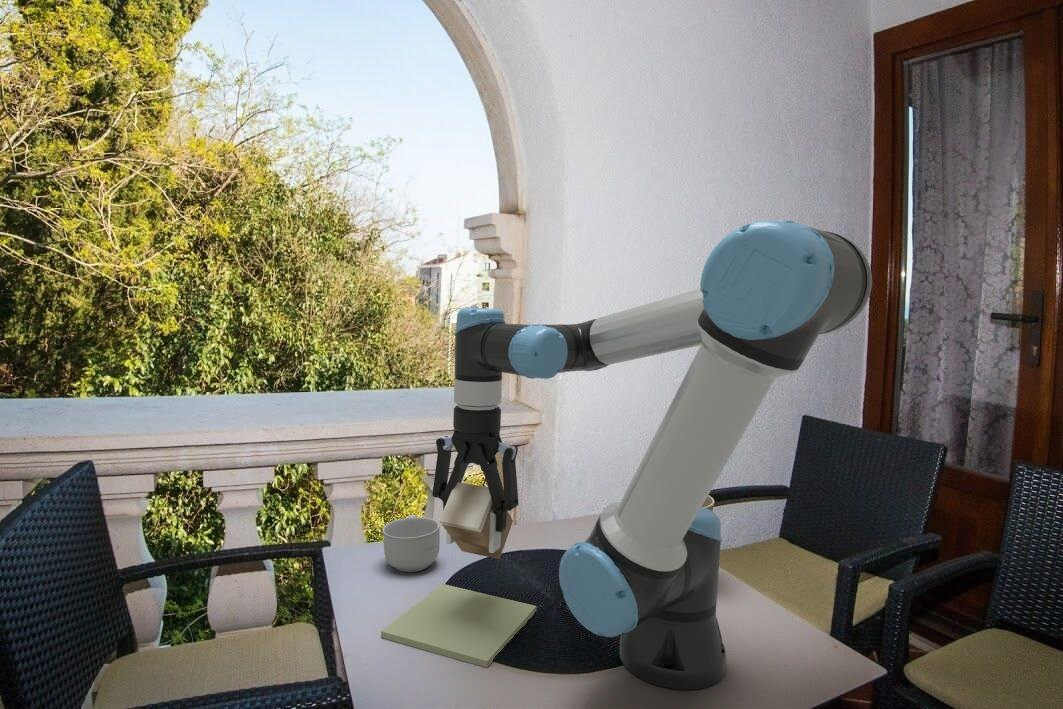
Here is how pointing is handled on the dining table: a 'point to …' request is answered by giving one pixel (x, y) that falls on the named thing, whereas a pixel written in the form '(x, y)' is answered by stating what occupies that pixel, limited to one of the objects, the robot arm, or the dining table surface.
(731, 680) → the dining table surface
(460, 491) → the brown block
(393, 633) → the olive mat
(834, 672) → the dining table surface
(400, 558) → the teacup
